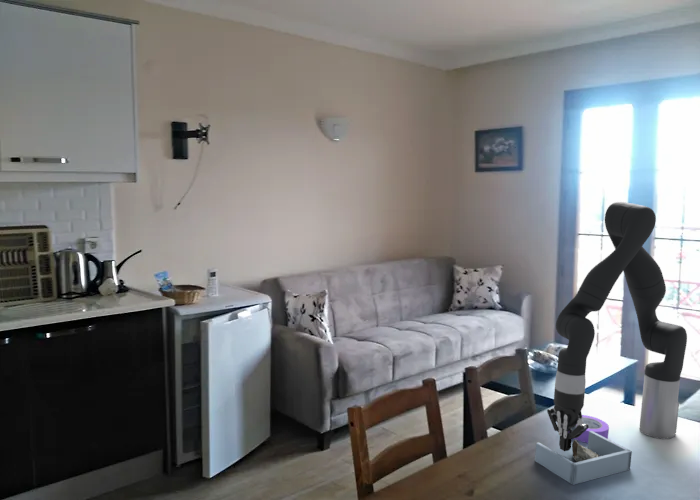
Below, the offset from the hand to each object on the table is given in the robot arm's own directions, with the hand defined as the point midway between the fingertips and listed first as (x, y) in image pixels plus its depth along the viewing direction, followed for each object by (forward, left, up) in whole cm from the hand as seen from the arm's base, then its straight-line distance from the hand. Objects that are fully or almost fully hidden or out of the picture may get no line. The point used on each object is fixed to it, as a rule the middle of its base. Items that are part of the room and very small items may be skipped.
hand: (564, 449), depth 158 cm
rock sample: (-3, +4, -2) cm, 6 cm away
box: (0, +6, -2) cm, 6 cm away
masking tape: (-16, -7, -2) cm, 18 cm away
